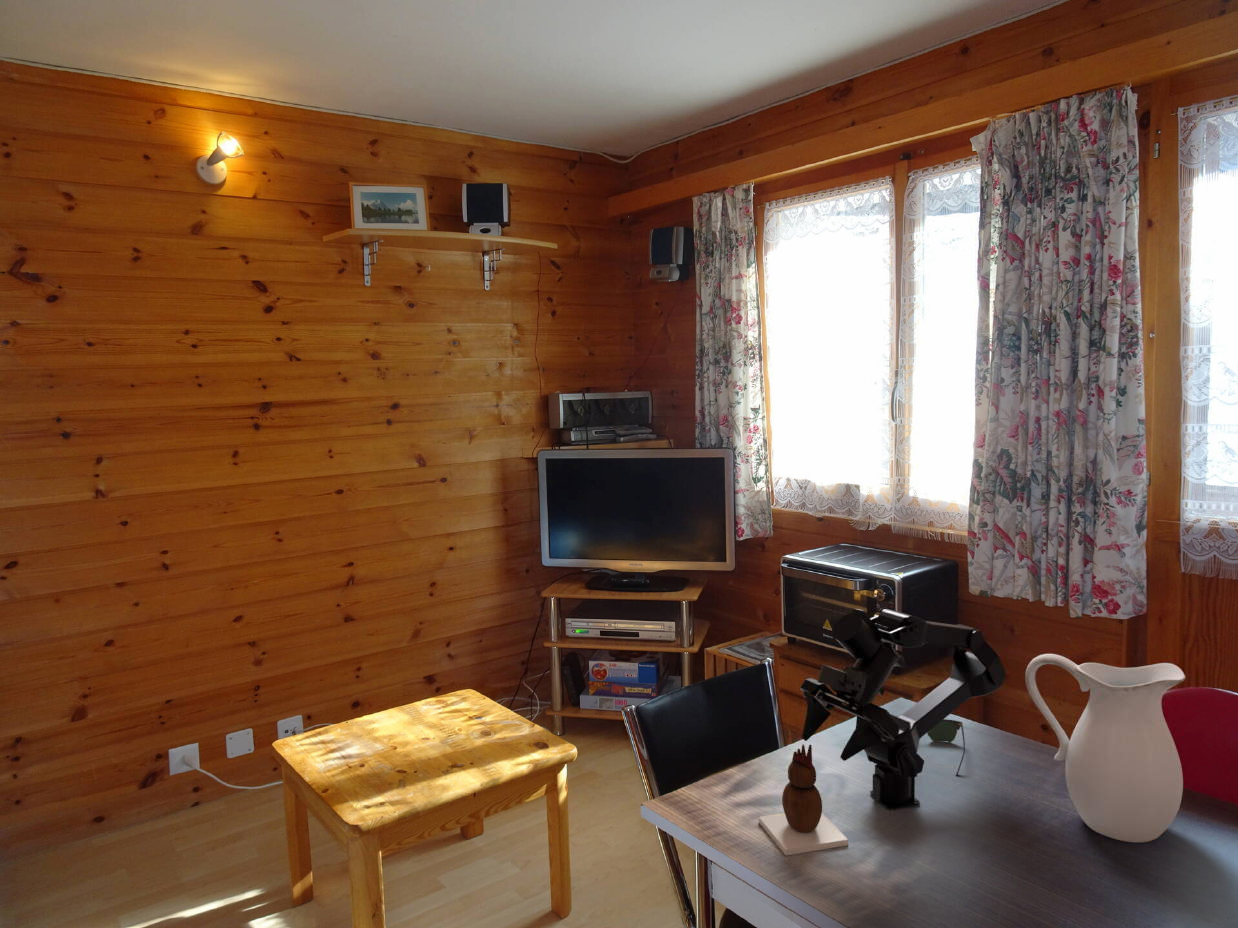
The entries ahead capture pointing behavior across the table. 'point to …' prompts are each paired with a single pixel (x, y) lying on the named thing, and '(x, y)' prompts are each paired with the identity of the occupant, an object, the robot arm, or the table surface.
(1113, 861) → the table surface
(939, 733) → the sunglasses
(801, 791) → the wooden figurine
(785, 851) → the display tile
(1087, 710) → the pitcher
